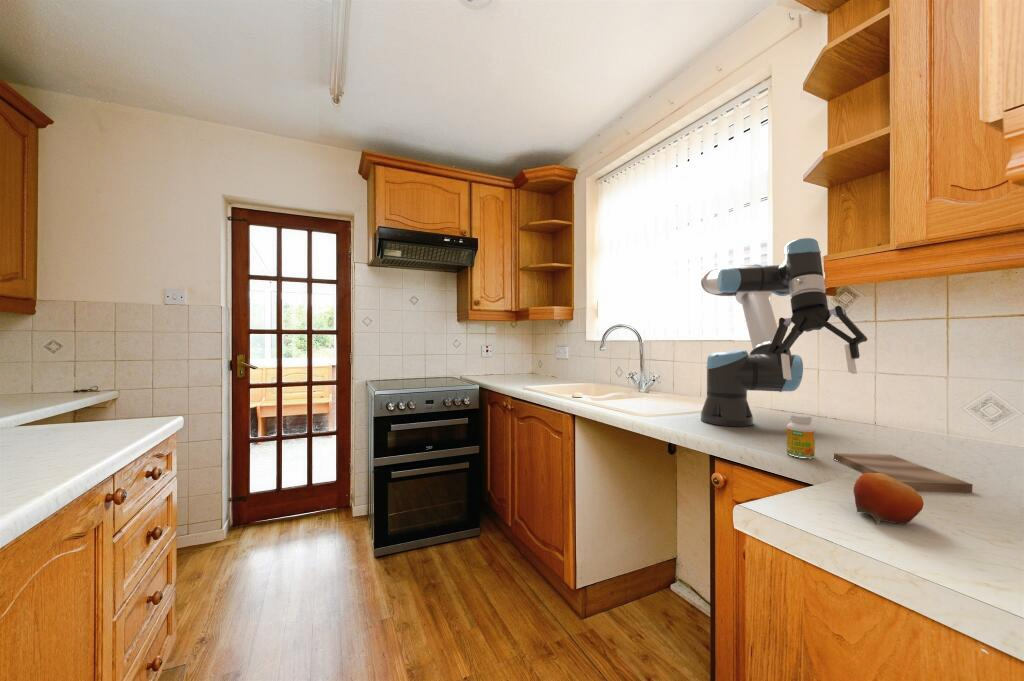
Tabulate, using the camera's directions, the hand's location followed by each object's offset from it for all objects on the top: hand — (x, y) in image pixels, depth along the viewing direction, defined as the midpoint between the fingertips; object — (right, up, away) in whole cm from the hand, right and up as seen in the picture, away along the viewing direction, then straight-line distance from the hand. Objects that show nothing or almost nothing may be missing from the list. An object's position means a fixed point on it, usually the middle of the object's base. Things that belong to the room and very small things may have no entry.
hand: (818, 376), depth 98 cm
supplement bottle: (-7, -19, -3) cm, 20 cm away
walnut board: (+4, -19, -16) cm, 25 cm away
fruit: (-17, -19, -36) cm, 44 cm away
